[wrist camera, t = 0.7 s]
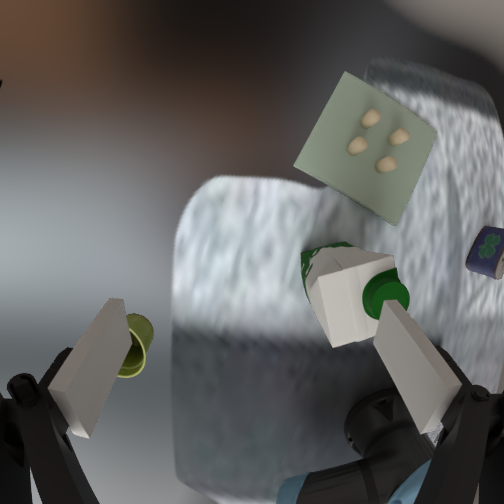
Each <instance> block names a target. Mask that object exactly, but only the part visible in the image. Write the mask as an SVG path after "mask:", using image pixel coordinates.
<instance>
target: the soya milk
mask: <svg viewBox="0 0 504 504" xmlns="http://www.w3.org/2000/svg"><path fill="white" fill-rule="evenodd" d="M301 274H302V279H303V284H304V289H305V292H306V295H307V298H308V300H309V302H310V304H311V306H312V308H313V310H314V313H315V315H316V317H317V319H318V320H319V322H320V324H321V326H322V328H323V330H324V332H325V333H326V335H327V337H328V339H329V341H330V343H331V345H332V347H333V348H334V347H338V346H341V345H344V344H348V343H351V342H354V341H357V342H359V341H362V340H365V339H367V338H370V337H373V336H375V334H376V331H377V327H378V323H379V319H380V315H381V311H382V307H383V303H384V300H397V301H398V302H399V303H400V304H401V305H402V307H403V308H404V309H405V310H406V311H407V309H408V306H409V301H410V297H409V292H408V290H407V288H406V287H405V286H404V285H403V284H401V282H400V280H399V278H398V274H397V268H395V262H394V256H393V255H387V254H381V253H375V252H369V251H365V250H362V249H360V248H357V247H355V246H352V245H350V244H348V243H347V242H340V243H336V244H332V245H328V246H324V247H320V248H317V249H314V250H310V251H307V252H304V253H301Z"/></svg>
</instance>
